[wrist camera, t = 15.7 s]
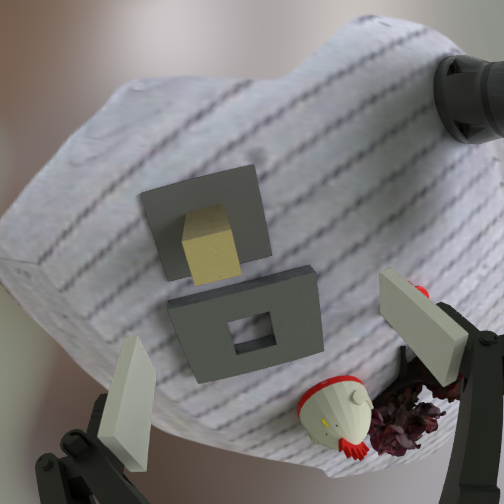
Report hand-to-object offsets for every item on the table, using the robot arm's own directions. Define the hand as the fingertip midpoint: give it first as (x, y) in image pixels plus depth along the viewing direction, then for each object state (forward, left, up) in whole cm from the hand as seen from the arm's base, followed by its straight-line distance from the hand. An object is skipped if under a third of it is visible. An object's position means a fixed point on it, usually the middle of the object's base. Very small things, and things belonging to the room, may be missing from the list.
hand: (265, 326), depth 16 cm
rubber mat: (+2, +1, -25) cm, 25 cm away
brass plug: (+2, +1, -24) cm, 25 cm away
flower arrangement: (-29, +44, -25) cm, 58 cm away
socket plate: (0, +17, -25) cm, 30 cm away
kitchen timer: (-11, +40, -25) cm, 49 cm away
